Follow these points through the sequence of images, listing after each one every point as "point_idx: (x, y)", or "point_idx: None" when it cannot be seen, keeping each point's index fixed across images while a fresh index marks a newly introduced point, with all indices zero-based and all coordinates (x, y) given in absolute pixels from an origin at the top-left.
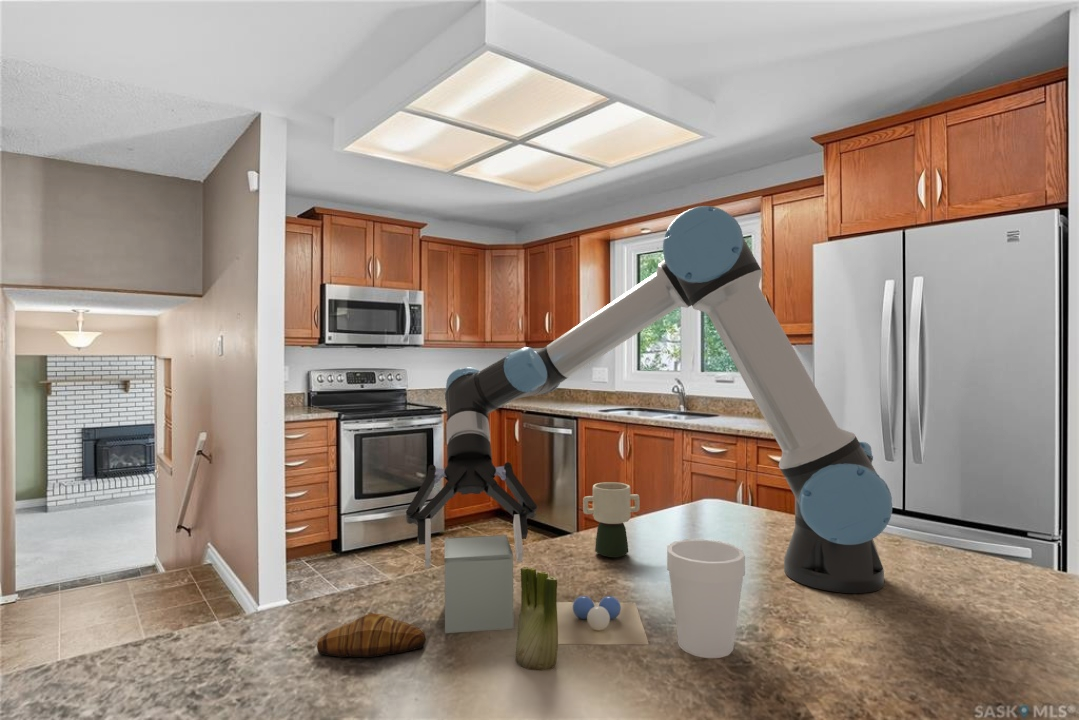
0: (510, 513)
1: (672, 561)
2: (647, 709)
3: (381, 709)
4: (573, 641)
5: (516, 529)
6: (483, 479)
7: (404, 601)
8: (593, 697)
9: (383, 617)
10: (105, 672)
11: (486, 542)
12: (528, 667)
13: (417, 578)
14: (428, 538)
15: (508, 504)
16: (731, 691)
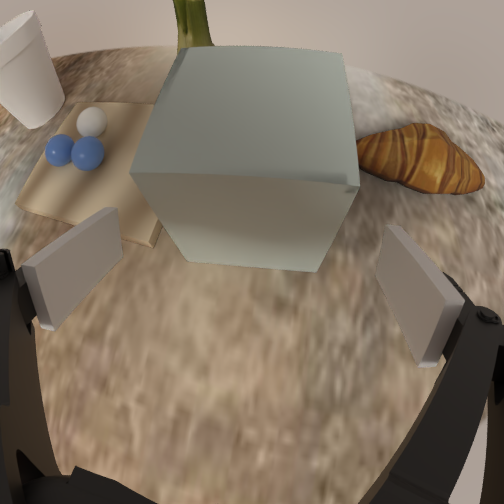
0: (35, 354)
1: (31, 25)
2: (144, 47)
3: (372, 73)
4: (143, 108)
5: (72, 236)
6: (16, 491)
7: (397, 355)
8: (174, 56)
9: (421, 138)
10: None
11: (217, 115)
12: None
13: (361, 484)
14: (415, 254)
15: (15, 317)
16: (75, 67)
